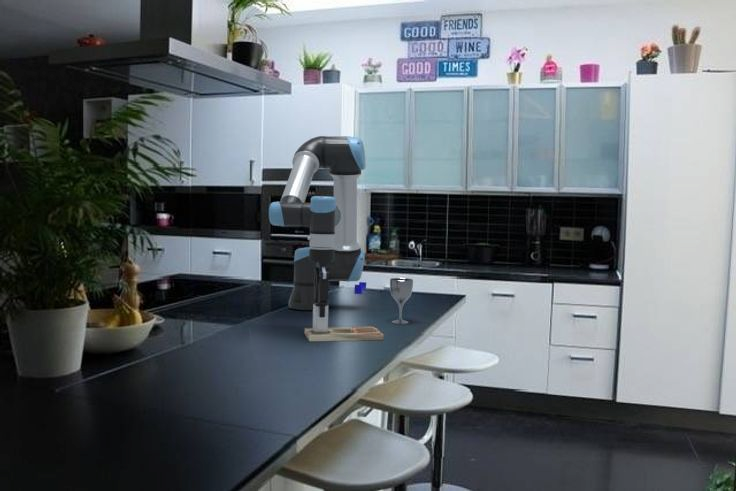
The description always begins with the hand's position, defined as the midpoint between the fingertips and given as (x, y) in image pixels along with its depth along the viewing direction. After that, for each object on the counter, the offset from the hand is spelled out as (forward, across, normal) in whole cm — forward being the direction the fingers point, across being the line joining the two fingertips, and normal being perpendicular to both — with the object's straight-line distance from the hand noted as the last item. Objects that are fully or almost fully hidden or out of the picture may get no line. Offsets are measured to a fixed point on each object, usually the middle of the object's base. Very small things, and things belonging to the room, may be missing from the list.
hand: (320, 326), depth 186 cm
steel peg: (+2, 0, 0) cm, 2 cm away
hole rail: (+3, 0, +7) cm, 8 cm away
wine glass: (+4, -22, +31) cm, 38 cm away
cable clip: (+4, -86, +30) cm, 91 cm away
